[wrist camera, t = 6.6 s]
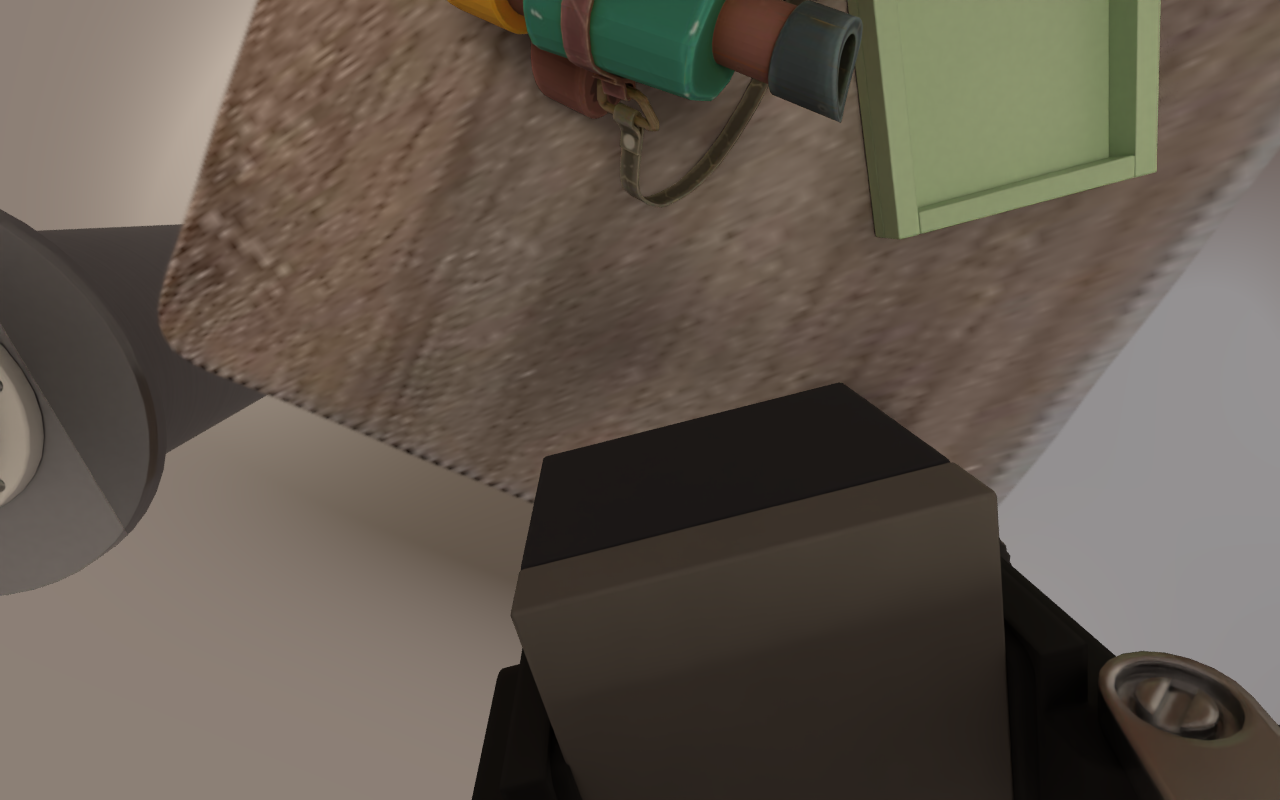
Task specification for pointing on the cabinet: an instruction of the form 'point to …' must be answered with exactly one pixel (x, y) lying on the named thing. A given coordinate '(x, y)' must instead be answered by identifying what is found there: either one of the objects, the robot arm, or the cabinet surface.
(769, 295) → the cabinet surface
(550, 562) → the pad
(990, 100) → the rectangular tray
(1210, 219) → the cabinet surface
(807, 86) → the binoculars
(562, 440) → the cabinet surface
